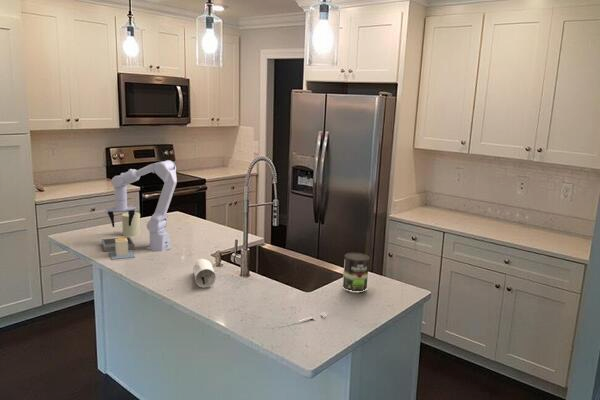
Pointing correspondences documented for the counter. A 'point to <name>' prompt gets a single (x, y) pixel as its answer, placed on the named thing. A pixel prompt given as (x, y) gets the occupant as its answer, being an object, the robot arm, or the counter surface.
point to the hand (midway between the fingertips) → (121, 226)
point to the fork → (311, 317)
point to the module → (121, 246)
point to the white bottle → (204, 273)
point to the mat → (114, 257)
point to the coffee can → (355, 271)
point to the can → (135, 225)
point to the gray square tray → (110, 244)
